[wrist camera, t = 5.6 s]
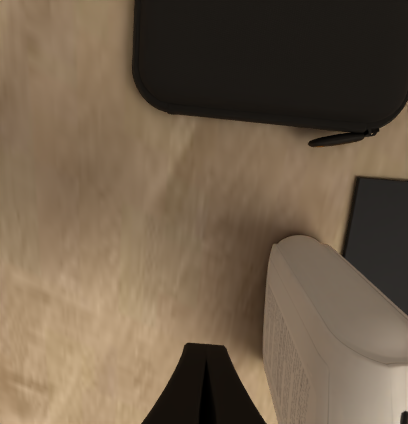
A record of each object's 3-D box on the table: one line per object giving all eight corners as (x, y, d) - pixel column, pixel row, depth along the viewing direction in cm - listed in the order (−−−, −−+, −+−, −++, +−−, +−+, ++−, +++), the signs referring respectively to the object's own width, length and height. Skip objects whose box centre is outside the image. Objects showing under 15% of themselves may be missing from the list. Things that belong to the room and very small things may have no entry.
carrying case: (136, 129, 19) (379, 153, 19) (123, 128, 16) (410, 156, 16) (145, -81, 17) (424, -52, 17) (131, -129, 14) (470, -92, 14)
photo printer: (317, 370, 23) (441, 632, 11) (257, 369, 23) (314, 630, 11) (332, 233, 20) (513, 372, 8) (265, 232, 20) (350, 369, 8)
